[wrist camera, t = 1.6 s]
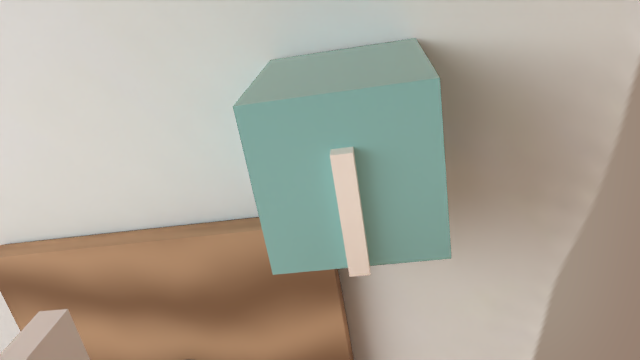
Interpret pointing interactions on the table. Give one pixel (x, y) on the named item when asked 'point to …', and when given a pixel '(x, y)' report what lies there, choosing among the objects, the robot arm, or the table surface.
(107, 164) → the table surface
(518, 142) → the table surface
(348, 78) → the teal rectangular block
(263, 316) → the wooden peg board
